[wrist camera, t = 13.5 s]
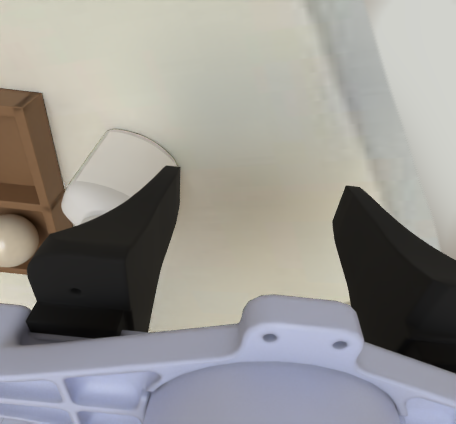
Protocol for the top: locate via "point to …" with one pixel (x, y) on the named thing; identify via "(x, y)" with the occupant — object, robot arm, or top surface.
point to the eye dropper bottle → (112, 174)
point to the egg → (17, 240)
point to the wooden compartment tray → (29, 166)
